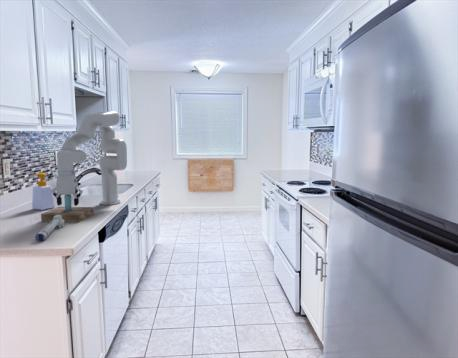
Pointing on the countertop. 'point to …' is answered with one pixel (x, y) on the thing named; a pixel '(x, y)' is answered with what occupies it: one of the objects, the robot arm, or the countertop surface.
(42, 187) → the soap bottle
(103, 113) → the robot arm
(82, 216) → the socket block
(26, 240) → the countertop surface
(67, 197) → the peg
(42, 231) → the white handheld massager
